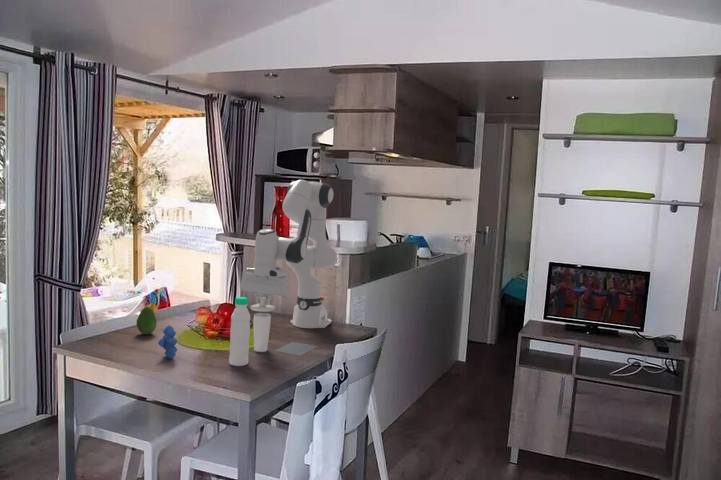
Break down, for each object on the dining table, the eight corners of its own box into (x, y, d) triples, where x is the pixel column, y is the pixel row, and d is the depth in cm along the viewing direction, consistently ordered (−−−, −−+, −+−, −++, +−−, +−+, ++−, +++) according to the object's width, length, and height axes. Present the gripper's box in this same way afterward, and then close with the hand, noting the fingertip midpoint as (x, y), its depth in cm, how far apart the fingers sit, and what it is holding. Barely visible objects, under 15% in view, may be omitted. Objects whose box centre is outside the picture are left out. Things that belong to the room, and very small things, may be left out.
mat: (293, 343, 236) (293, 341, 236) (318, 347, 232) (318, 346, 232) (273, 352, 222) (273, 350, 222) (299, 357, 217) (299, 355, 217)
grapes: (153, 354, 208) (154, 323, 207) (171, 352, 212) (172, 322, 211) (161, 363, 199) (162, 330, 198) (180, 361, 203) (181, 329, 202)
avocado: (156, 331, 240) (157, 304, 239) (155, 336, 233) (156, 308, 232) (136, 332, 237) (137, 304, 236) (135, 336, 230) (136, 308, 229)
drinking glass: (265, 354, 218) (267, 317, 216) (249, 352, 219) (251, 315, 218) (271, 350, 224) (273, 314, 223) (255, 348, 226) (257, 312, 224)
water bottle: (230, 367, 200) (233, 299, 198) (227, 361, 206) (230, 296, 204) (250, 366, 202) (253, 299, 200) (246, 360, 209) (249, 295, 207)
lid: (259, 305, 226) (259, 294, 226) (279, 308, 223) (279, 297, 222) (245, 309, 217) (246, 298, 217) (266, 312, 214) (267, 301, 213)
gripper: (238, 267, 220) (236, 301, 221) (282, 273, 212) (280, 308, 213) (247, 266, 226) (245, 299, 227) (290, 271, 218) (288, 306, 219)
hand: (263, 304), depth 220 cm, fingers closed on lid, 3 cm apart
